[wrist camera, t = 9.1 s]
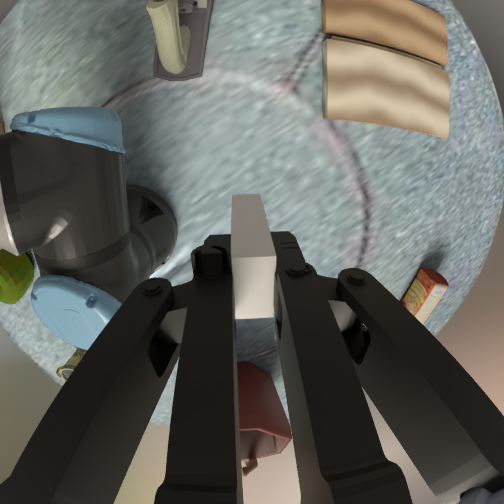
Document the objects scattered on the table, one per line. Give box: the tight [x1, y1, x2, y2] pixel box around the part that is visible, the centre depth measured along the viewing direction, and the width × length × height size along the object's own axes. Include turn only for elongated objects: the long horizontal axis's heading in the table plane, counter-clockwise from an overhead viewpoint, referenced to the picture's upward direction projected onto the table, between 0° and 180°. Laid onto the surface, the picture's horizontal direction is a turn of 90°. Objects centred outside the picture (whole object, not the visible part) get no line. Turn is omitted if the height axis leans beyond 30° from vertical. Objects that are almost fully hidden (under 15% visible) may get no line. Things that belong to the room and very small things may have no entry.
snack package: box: [401, 268, 448, 324], centre depth 53 cm, size 21×7×7 cm, turn 165°
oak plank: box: [321, 0, 448, 65], centre depth 27 cm, size 10×22×2 cm, turn 90°
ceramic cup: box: [56, 348, 87, 382], centre depth 55 cm, size 13×10×10 cm
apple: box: [0, 249, 34, 304], centre depth 41 cm, size 11×11×11 cm
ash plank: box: [323, 36, 449, 139], centre depth 32 cm, size 13×22×2 cm, turn 90°
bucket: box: [237, 362, 292, 476], centre depth 54 cm, size 24×22×25 cm
